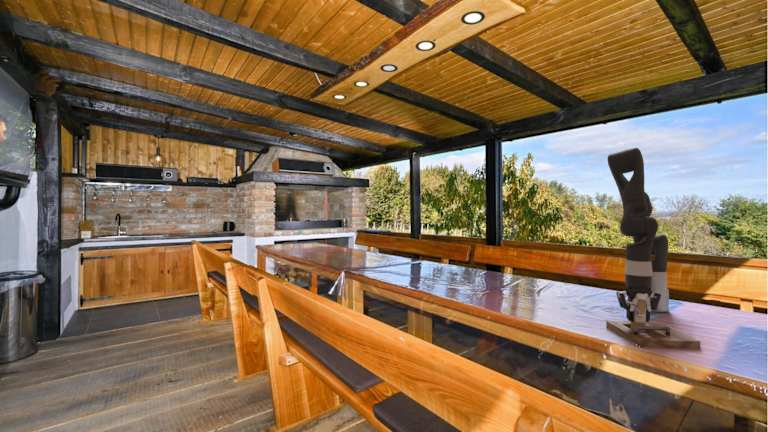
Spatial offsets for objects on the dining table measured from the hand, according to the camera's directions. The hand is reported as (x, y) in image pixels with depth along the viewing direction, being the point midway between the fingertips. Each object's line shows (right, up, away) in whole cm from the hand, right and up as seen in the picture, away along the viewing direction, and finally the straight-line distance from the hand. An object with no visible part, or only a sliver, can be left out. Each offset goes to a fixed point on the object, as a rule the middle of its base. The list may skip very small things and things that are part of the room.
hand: (638, 320), depth 115 cm
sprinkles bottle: (0, -3, 0) cm, 3 cm away
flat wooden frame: (+2, -5, -3) cm, 6 cm away
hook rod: (-1, -2, -7) cm, 7 cm away
